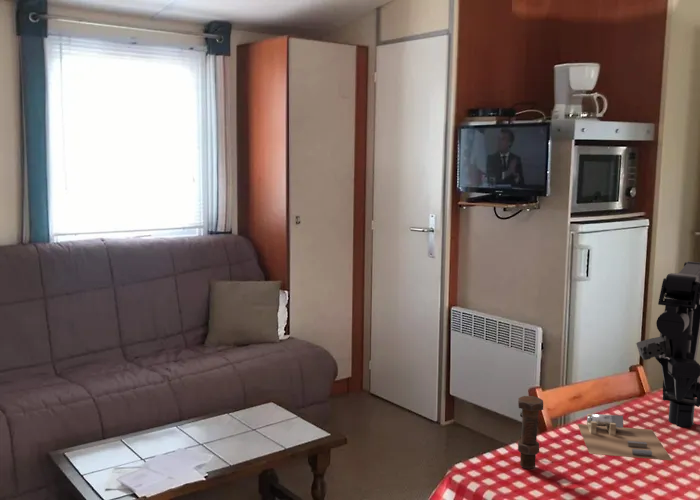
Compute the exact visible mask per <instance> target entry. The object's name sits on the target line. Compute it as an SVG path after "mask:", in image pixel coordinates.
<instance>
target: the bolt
mask: <svg viewBox="0 0 700 500" xmlns="http://www.w3.org/2000/svg"><path fill="white" fill-rule="evenodd" d="M517 402H518V403H517V405H518V409H521V410H522V411H521V414H522V416H521V421H522V424H521V439H519V440H518V441H517V450H518V452H520V454H519V455H520V461H519V465H520V466H521V468H523V469H530V470H531V469H534V468H535V466H536V459H537V458H536V457H537V456H536V455H538V454H539V453H540V442H539V441H537V439H538V438H537V437H538V436H537V435H538V420H539V418H538V417H539V411H543V410H544V400H543V399H541V398H540V397H538V396H534V395H533V396H532V395H523V396H520V397H518V401H517Z"/></svg>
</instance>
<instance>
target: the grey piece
mask: <svg viewBox="0 0 700 500" xmlns="http://www.w3.org/2000/svg"><path fill="white" fill-rule="evenodd" d="M590 414H591V417H590V416H586V423H587V422H591V421H596V423H597V426H606V427H610V423H615V424H616V427H618V428H623V427H624V416H623V415H619V414H618V415H616V414H614V415H613V414H602V413H601V414H599V413H590Z"/></svg>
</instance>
